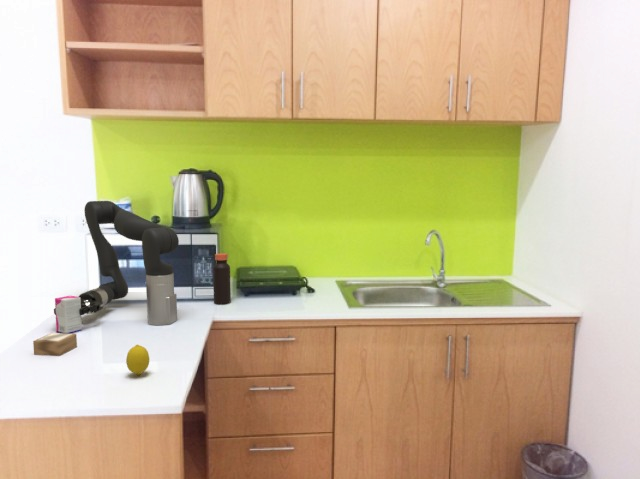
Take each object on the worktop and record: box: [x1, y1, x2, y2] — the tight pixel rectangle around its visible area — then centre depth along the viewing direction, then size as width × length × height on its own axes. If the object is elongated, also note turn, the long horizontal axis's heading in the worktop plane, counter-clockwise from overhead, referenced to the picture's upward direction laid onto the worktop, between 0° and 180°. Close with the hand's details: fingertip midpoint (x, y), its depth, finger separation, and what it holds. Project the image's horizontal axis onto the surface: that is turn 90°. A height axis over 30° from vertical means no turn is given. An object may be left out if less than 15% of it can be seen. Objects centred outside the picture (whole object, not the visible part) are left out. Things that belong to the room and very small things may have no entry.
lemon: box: [125, 344, 150, 376], centre depth 129 cm, size 6×6×8 cm
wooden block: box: [32, 332, 78, 357], centre depth 148 cm, size 8×8×4 cm
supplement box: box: [54, 295, 83, 334], centre depth 166 cm, size 6×6×12 cm
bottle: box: [212, 252, 232, 305], centre depth 205 cm, size 7×7×20 cm
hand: (68, 312), depth 166 cm, fingers open, 8 cm apart
